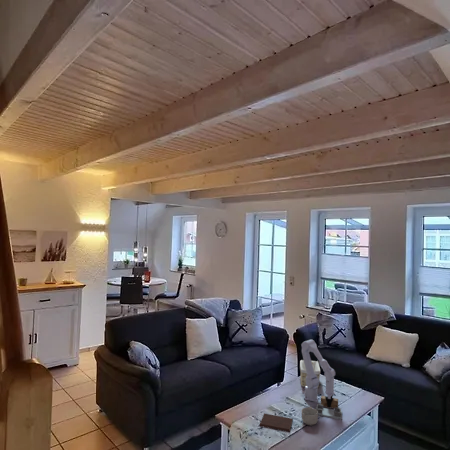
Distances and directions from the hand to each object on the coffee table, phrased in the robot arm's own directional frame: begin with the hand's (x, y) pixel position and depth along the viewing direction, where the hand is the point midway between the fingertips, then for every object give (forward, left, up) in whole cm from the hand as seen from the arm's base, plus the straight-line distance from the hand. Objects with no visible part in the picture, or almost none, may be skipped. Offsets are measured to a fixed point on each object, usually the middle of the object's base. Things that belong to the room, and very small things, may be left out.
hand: (329, 404), depth 256 cm
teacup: (-11, -27, -2) cm, 29 cm away
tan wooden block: (0, 0, -2) cm, 2 cm away
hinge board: (0, -11, -1) cm, 11 cm away
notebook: (-32, -37, -2) cm, 49 cm away
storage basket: (-19, +37, -2) cm, 41 cm away
